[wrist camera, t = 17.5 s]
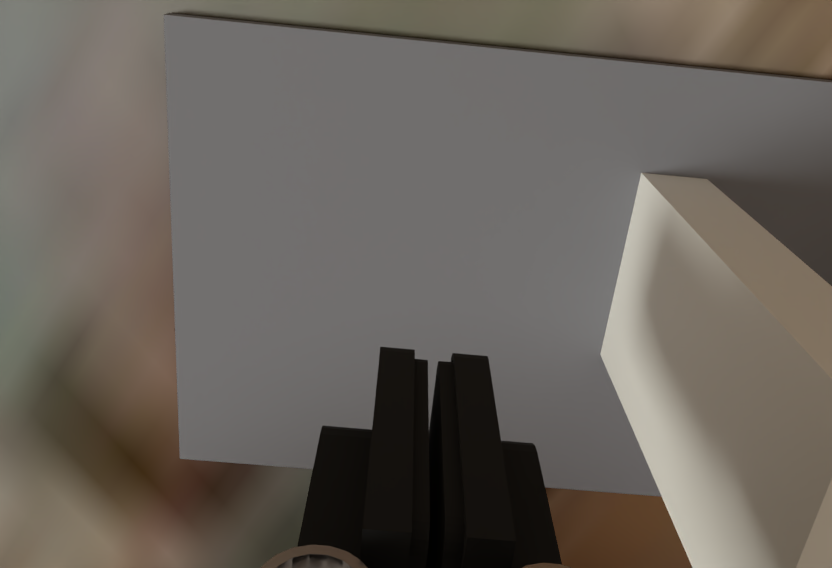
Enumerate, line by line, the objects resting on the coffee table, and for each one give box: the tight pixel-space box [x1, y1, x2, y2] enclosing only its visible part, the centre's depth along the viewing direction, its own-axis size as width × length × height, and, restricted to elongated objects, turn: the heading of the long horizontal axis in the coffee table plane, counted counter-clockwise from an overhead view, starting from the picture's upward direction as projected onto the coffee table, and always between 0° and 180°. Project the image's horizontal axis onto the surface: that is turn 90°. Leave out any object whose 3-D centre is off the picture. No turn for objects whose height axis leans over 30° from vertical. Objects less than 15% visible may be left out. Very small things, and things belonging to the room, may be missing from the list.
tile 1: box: [600, 173, 832, 568], centre depth 15 cm, size 5×2×10 cm, turn 174°
